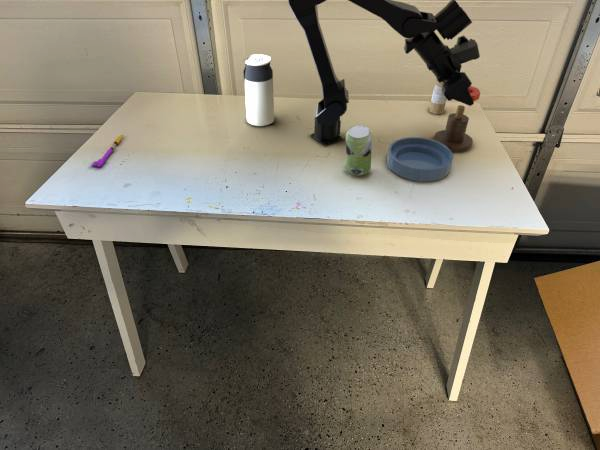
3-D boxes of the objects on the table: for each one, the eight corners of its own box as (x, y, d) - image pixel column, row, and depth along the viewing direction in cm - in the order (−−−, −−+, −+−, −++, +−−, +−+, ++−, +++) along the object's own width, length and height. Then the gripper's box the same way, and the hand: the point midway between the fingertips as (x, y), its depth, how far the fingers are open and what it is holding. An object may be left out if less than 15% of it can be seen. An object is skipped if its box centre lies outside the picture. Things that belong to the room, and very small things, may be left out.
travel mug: (249, 128, 127) (244, 65, 116) (245, 116, 133) (240, 55, 122) (276, 125, 129) (274, 62, 117) (271, 113, 135) (269, 52, 123)
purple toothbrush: (101, 167, 110) (125, 137, 123) (99, 163, 110) (123, 133, 122) (92, 169, 111) (116, 138, 123) (89, 165, 110) (114, 135, 122)
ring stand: (453, 156, 116) (463, 119, 109) (425, 140, 122) (433, 104, 116) (479, 145, 120) (490, 109, 114) (450, 131, 127) (459, 95, 120)
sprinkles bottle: (435, 107, 139) (444, 63, 130) (447, 112, 136) (457, 68, 127) (425, 111, 136) (434, 67, 128) (437, 116, 134) (447, 72, 125)
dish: (417, 190, 104) (420, 176, 102) (373, 160, 114) (375, 147, 112) (463, 170, 111) (466, 157, 108) (417, 144, 121) (420, 131, 118)
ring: (453, 101, 110) (454, 95, 109) (448, 90, 116) (449, 84, 115) (481, 102, 110) (482, 96, 109) (474, 91, 115) (476, 85, 114)
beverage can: (373, 167, 112) (378, 124, 104) (363, 183, 106) (369, 138, 99) (349, 162, 114) (353, 118, 106) (339, 176, 108) (342, 132, 101)
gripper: (472, 41, 95) (509, 93, 102) (455, 17, 110) (489, 63, 116) (428, 76, 101) (466, 123, 107) (417, 48, 115) (451, 91, 122)
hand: (469, 98), depth 113 cm, fingers closed on ring, 7 cm apart
